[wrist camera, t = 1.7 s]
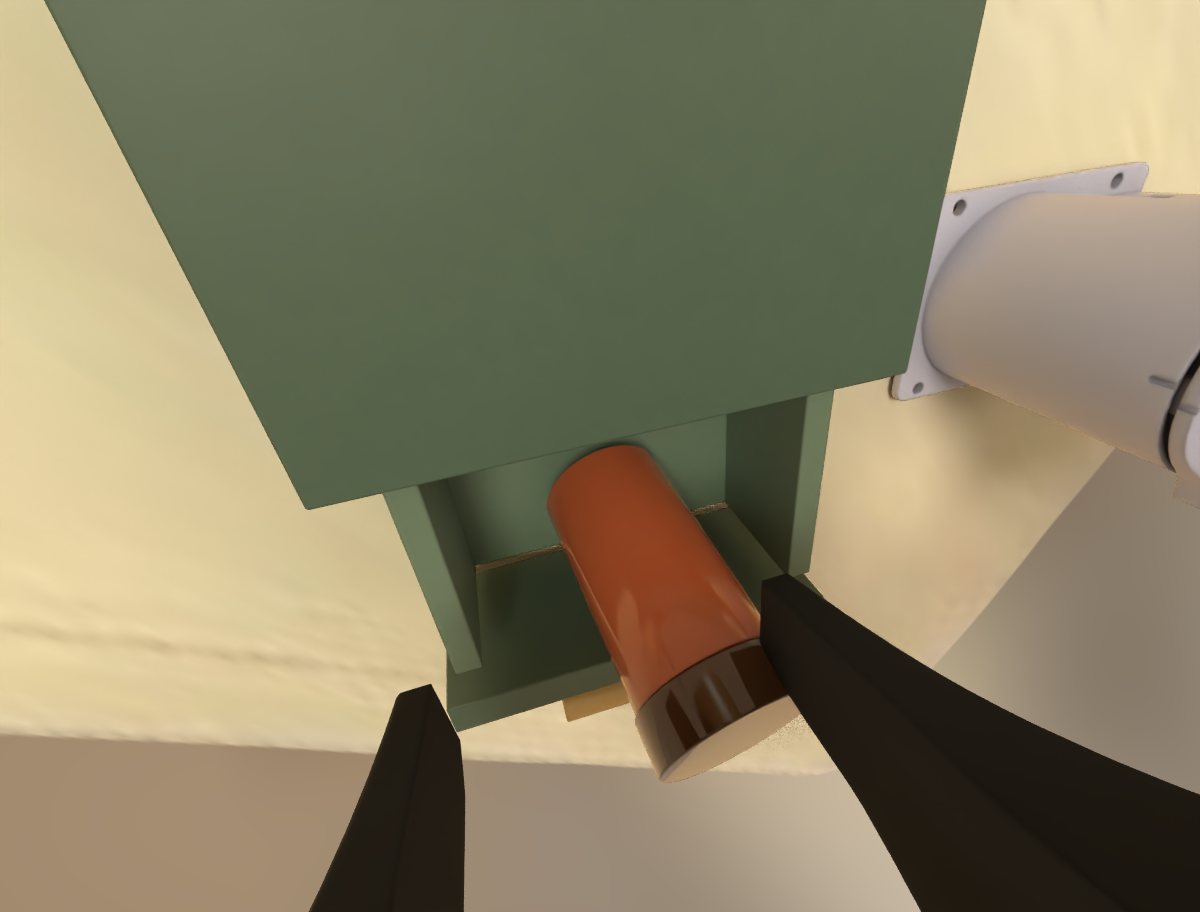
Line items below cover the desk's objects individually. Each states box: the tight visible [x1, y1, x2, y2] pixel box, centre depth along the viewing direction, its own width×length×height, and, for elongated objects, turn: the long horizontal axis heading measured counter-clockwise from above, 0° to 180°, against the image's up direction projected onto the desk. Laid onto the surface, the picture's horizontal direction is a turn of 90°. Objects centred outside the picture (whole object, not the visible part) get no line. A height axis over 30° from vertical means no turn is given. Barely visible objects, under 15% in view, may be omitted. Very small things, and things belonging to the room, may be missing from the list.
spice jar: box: [547, 445, 801, 783], centre depth 15 cm, size 4×4×8 cm
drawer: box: [382, 390, 834, 732], centre depth 17 cm, size 15×13×6 cm
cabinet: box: [44, 0, 986, 510], centre depth 11 cm, size 12×14×7 cm
